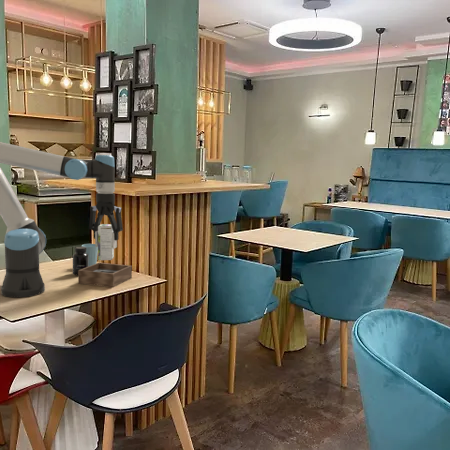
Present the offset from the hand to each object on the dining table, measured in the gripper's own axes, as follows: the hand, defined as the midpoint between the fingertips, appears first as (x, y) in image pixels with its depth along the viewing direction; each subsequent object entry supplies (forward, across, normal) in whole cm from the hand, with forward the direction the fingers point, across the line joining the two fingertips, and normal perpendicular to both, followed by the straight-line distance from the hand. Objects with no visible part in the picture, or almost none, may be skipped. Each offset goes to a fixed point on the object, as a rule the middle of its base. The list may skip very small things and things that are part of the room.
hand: (106, 247), depth 189 cm
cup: (+15, -20, +20) cm, 32 cm away
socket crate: (+14, 0, 0) cm, 14 cm away
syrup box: (+5, 0, 0) cm, 5 cm away
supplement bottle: (+15, -16, +6) cm, 23 cm away
